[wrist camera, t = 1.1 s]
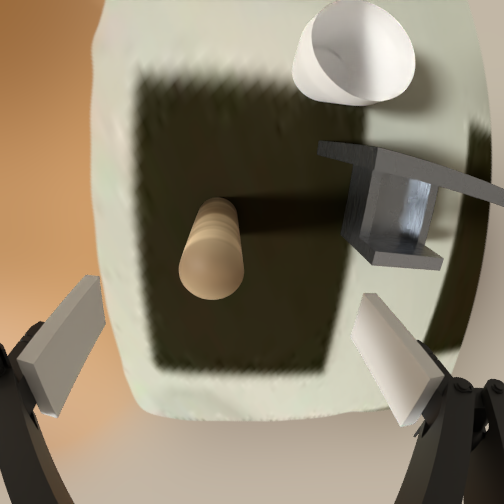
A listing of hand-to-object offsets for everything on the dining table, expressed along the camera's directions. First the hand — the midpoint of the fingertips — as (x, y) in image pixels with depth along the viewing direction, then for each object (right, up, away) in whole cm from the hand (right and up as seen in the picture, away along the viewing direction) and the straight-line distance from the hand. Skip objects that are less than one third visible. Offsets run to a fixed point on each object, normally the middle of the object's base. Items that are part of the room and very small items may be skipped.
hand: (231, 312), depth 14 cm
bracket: (+16, +9, +20) cm, 27 cm away
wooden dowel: (-3, +7, +19) cm, 20 cm away
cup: (+8, +22, +14) cm, 28 cm away
